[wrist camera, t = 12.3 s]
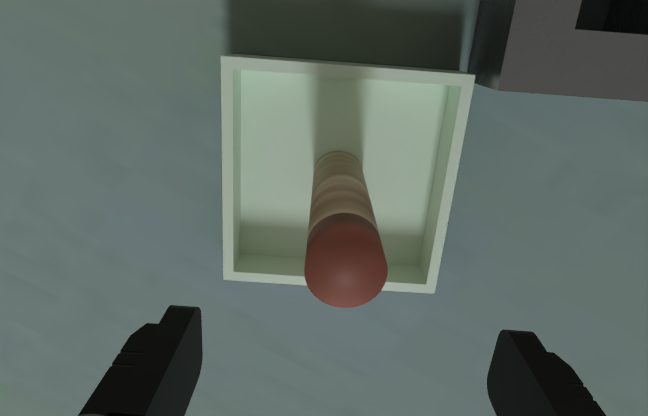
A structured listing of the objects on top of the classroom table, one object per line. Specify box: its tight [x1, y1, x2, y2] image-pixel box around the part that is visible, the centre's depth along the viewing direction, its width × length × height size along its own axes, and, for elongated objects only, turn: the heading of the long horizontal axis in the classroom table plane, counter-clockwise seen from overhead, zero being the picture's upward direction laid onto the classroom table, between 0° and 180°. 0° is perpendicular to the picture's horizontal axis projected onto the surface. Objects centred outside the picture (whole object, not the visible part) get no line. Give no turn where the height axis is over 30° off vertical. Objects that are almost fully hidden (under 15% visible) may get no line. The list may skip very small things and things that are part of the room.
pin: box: [304, 151, 388, 308], centre depth 22 cm, size 3×3×12 cm
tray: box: [221, 54, 476, 294], centre depth 26 cm, size 13×13×3 cm
